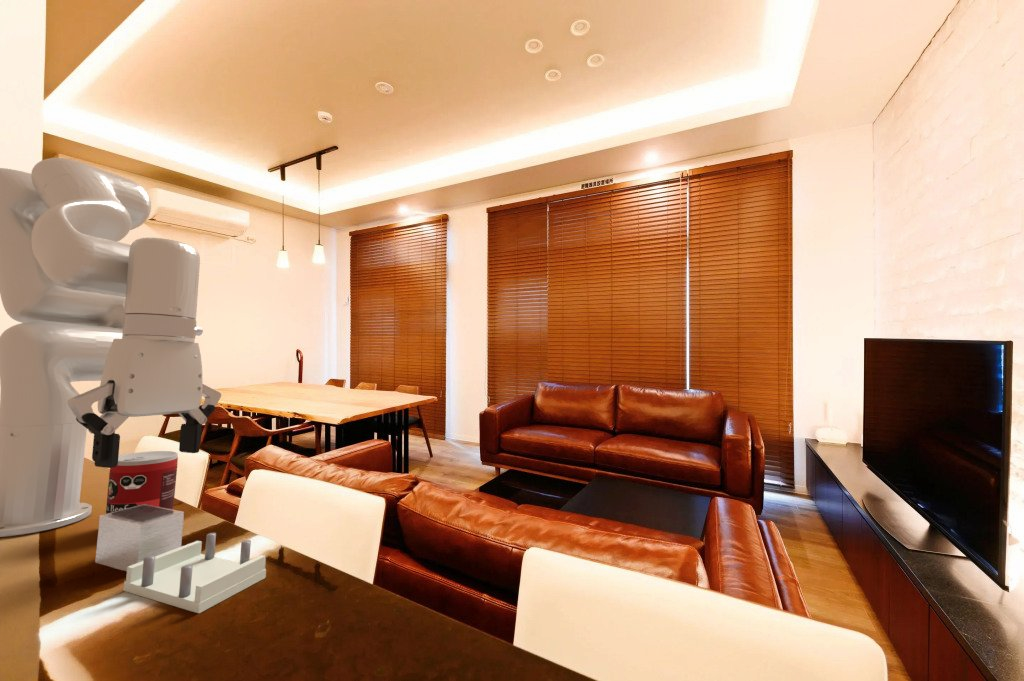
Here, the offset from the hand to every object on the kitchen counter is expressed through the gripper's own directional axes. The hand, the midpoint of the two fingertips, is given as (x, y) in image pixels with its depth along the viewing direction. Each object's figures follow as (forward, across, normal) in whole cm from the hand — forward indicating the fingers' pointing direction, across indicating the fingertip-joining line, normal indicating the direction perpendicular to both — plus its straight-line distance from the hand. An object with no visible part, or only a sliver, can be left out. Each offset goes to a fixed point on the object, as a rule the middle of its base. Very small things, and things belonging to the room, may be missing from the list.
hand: (150, 458), depth 55 cm
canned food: (+13, -7, -13) cm, 20 cm away
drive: (+13, 0, -1) cm, 13 cm away
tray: (+13, +1, +12) cm, 18 cm away
